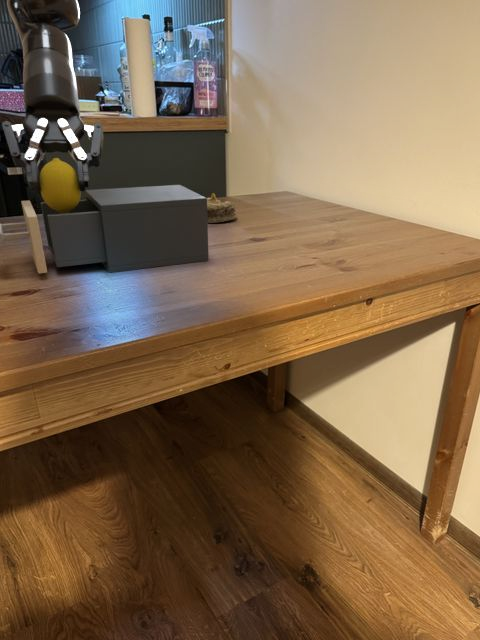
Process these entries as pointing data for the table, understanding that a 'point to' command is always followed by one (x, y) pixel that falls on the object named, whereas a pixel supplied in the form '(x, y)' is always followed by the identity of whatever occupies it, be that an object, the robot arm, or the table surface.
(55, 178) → the lemon
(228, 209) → the cake
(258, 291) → the table surface
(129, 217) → the cabinet
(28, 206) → the drawer
